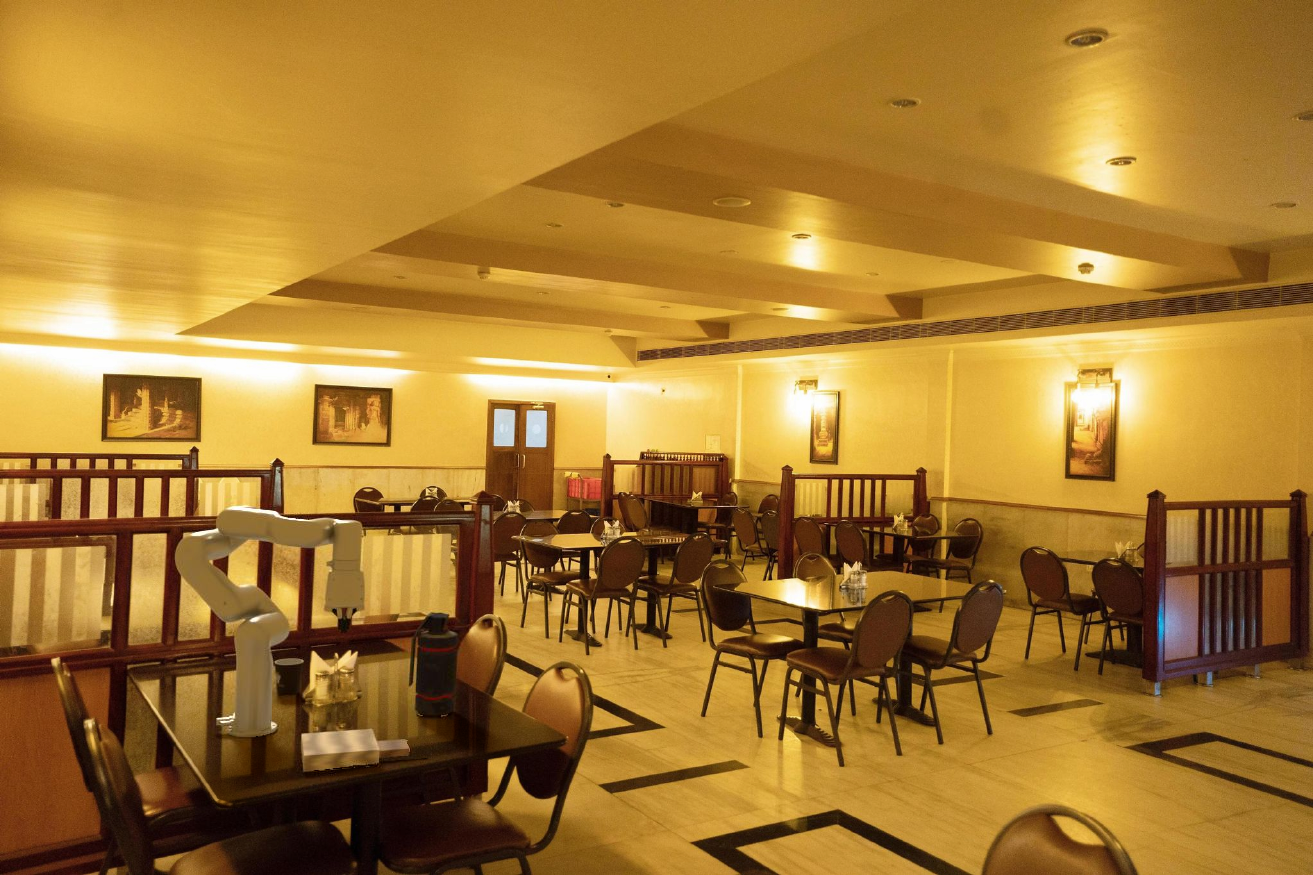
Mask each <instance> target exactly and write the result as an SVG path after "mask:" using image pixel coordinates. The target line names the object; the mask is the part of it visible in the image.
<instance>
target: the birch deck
mask: <svg viewBox="0 0 1313 875" xmlns="http://www.w3.org/2000/svg"><path fill="white" fill-rule="evenodd" d="M300 738H301V739H300V740H301V741H300V753H301V754H302V755H301V761H302V763H303V764H302V769H303V770H302V772H303V773H305V772H315V771H314V770H319V771H326V770H325V769H330V770H334V769H333V768H340V767H349V766H353V765H366V764H367V765H368V764H375V763H376V764H377V763H379V751H380V749H379V747H378V744H377V741H378V740H377V738H376V736H375V733H374V729H373V728H366V729H365V728H364V729H352V730H338V731H335V730H334V731H323V732H321V731H320V732H310V733H301V737H300ZM379 764H380V763H379Z"/></svg>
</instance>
